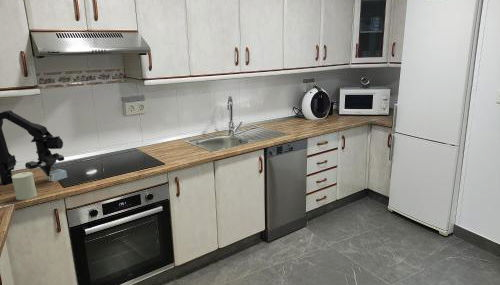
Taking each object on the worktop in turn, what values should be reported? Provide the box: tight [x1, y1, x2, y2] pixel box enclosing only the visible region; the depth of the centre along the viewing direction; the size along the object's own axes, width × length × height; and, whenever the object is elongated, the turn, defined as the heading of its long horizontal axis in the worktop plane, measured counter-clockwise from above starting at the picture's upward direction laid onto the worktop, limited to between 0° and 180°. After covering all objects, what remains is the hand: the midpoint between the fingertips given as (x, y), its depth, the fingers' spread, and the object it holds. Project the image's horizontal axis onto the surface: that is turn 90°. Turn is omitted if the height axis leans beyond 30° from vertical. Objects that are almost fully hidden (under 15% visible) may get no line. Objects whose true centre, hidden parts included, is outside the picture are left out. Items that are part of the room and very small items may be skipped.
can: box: [12, 171, 38, 201], centre depth 181 cm, size 9×9×12 cm
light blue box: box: [45, 168, 68, 182], centre depth 206 cm, size 7×4×8 cm
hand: (48, 176), depth 202 cm, fingers closed
